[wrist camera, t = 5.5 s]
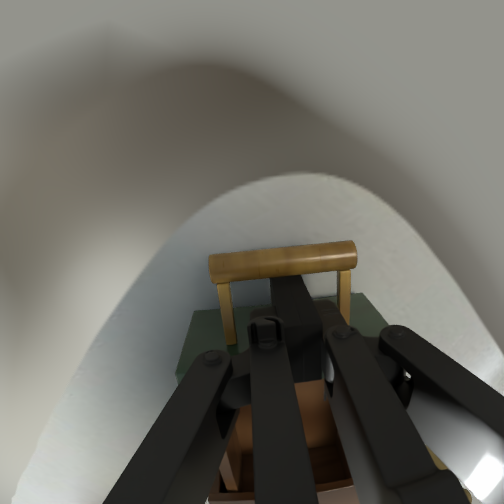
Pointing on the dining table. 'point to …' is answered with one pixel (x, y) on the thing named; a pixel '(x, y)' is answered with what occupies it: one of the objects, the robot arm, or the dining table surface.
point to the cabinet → (329, 494)
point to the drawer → (236, 341)
